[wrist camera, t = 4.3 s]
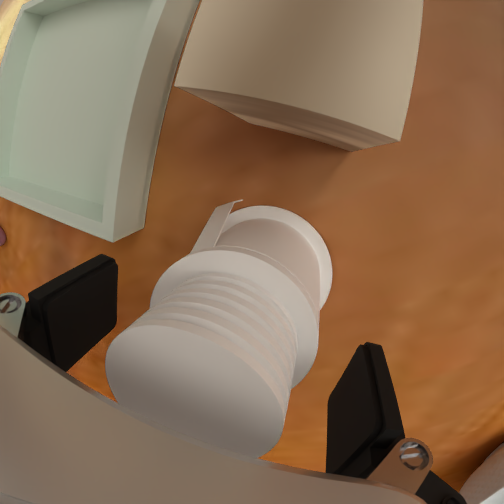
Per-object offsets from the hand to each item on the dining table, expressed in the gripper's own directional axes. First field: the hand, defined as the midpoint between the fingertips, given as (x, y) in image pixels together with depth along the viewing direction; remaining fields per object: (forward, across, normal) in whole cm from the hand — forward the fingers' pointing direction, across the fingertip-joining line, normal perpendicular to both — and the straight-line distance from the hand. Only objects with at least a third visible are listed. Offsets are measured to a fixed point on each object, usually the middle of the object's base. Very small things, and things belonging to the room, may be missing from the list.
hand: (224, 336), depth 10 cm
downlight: (+6, 0, 0) cm, 6 cm away
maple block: (+6, 0, -10) cm, 11 cm away
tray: (+6, +15, -8) cm, 18 cm away
